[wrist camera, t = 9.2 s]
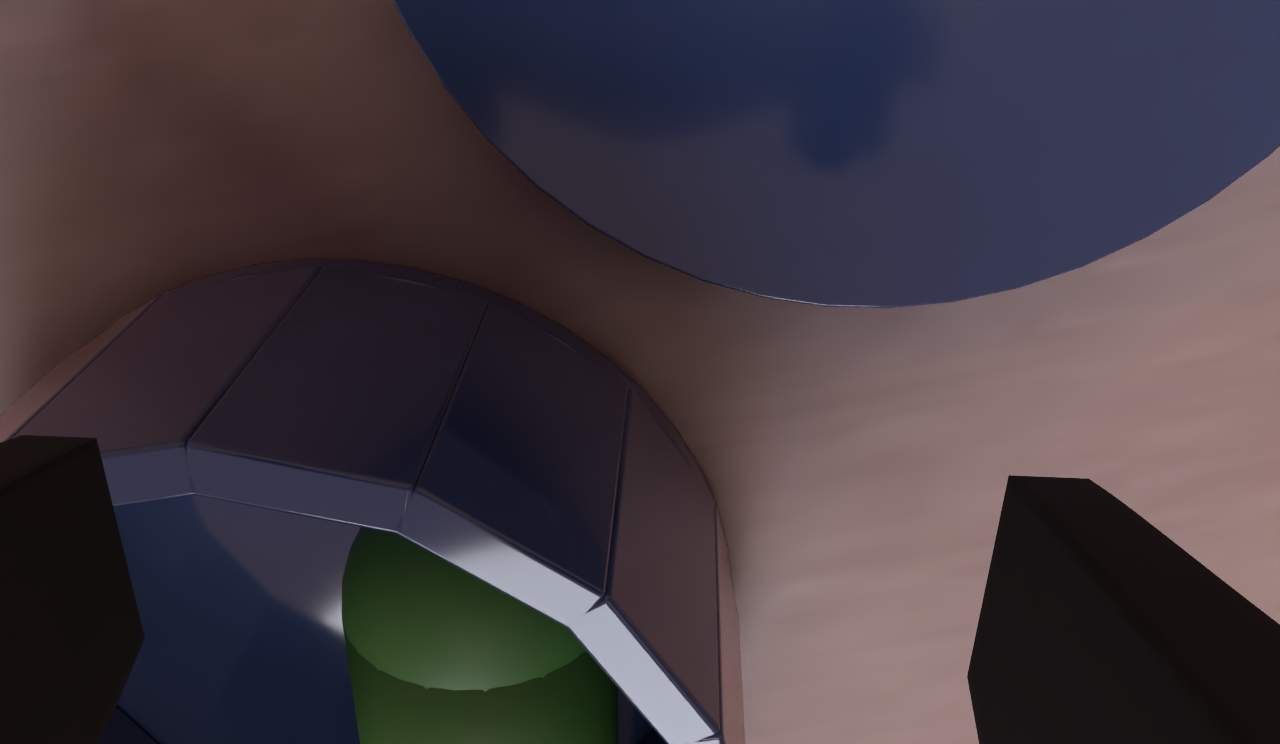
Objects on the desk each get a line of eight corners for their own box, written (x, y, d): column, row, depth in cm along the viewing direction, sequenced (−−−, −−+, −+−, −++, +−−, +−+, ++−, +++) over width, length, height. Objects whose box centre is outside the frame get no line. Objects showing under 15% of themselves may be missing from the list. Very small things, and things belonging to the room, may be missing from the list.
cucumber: (259, 515, 14) (525, 603, 13) (436, 384, 18) (665, 443, 16) (331, 917, 18) (544, 1023, 17) (467, 750, 21) (655, 825, 20)
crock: (-4, 180, 16) (-302, 346, 11) (817, 349, 17) (865, 574, 12) (37, 770, 22) (-149, 1048, 17) (650, 879, 23) (637, 1176, 18)
